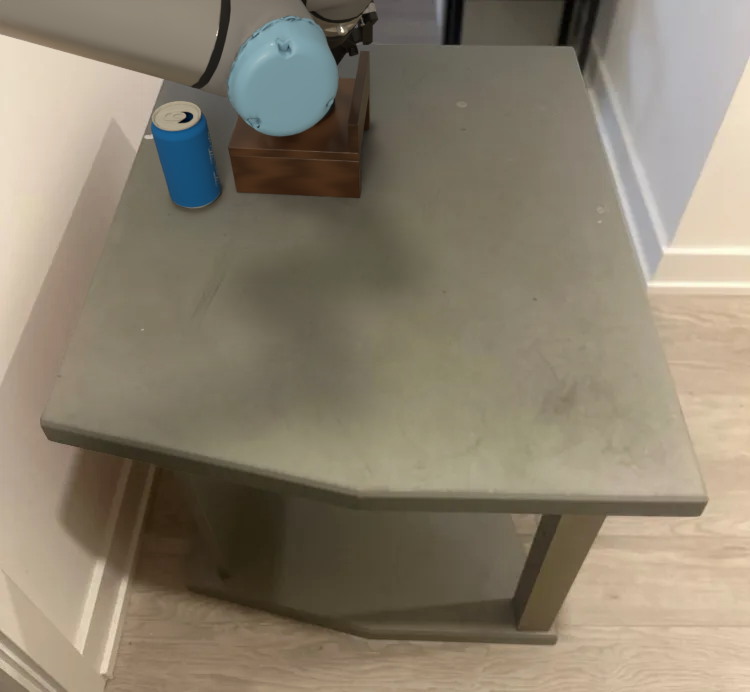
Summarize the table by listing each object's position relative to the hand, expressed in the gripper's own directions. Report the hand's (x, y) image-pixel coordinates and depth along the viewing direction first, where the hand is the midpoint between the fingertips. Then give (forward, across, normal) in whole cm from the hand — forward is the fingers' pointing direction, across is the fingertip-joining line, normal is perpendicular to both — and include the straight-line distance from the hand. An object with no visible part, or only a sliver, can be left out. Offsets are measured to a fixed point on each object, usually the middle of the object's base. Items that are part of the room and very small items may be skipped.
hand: (291, 66), depth 93 cm
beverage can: (+5, -16, -12) cm, 20 cm away
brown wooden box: (+6, 0, -10) cm, 12 cm away
